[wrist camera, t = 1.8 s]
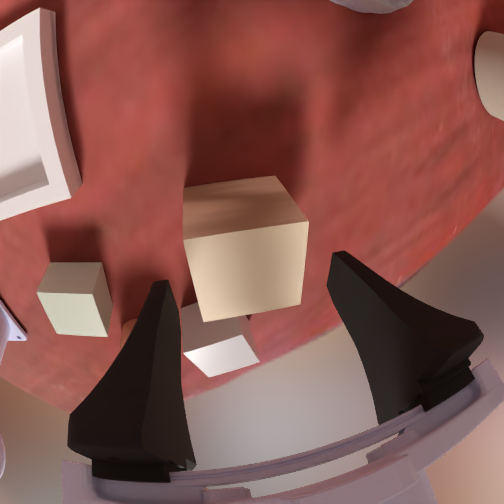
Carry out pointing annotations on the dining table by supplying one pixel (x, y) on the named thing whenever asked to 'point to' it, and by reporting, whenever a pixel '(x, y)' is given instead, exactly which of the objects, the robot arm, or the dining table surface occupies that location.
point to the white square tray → (33, 118)
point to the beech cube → (244, 246)
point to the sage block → (76, 298)
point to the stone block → (373, 5)
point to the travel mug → (491, 72)
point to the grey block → (217, 342)
